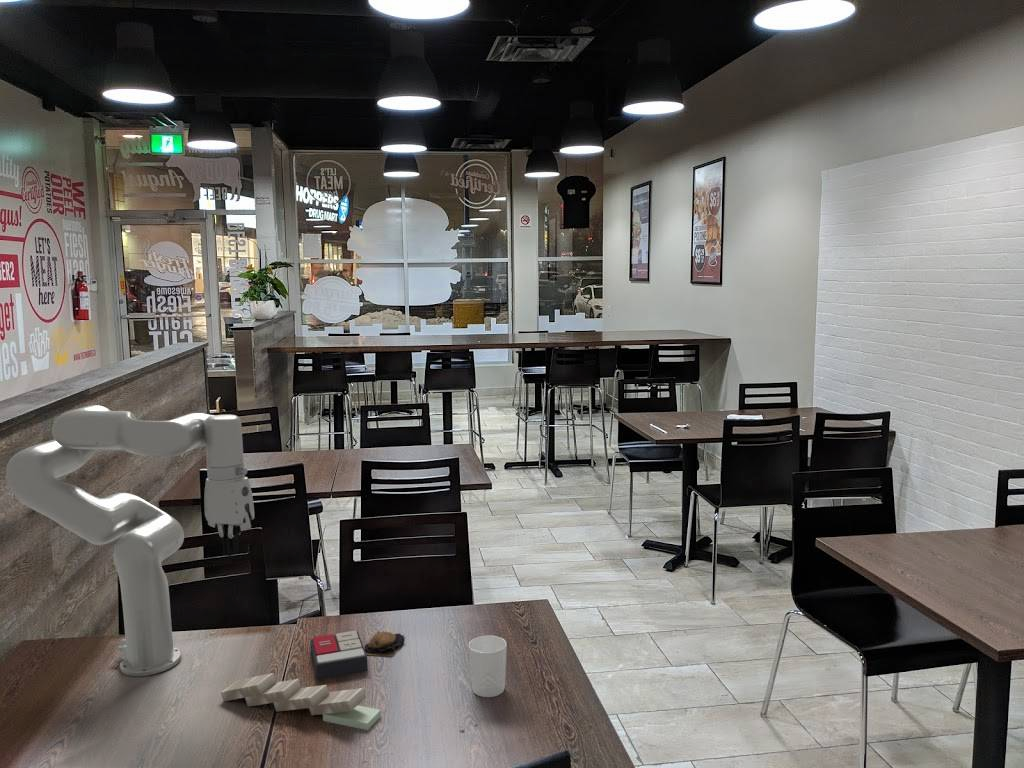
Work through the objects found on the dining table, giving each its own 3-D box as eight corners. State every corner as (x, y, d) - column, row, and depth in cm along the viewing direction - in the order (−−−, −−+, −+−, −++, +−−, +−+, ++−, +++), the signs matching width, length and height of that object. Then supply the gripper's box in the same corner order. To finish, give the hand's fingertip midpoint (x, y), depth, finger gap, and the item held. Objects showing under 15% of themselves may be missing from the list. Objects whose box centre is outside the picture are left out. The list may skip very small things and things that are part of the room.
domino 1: (220, 692, 159) (257, 684, 155) (237, 680, 164) (273, 672, 160) (223, 701, 159) (260, 694, 155) (240, 689, 164) (276, 682, 160)
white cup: (513, 684, 164) (512, 639, 163) (497, 702, 157) (496, 655, 155) (480, 676, 167) (479, 632, 166) (462, 694, 160) (461, 648, 159)
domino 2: (244, 697, 157) (283, 690, 153) (260, 685, 161) (298, 678, 158) (247, 706, 157) (286, 700, 153) (263, 694, 162) (301, 688, 158)
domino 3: (272, 702, 155) (310, 697, 150) (289, 689, 159) (326, 684, 155) (276, 711, 155) (313, 707, 150) (292, 698, 159) (329, 694, 155)
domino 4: (308, 705, 152) (348, 700, 148) (323, 692, 157) (363, 687, 153) (311, 715, 152) (351, 710, 148) (326, 702, 157) (366, 697, 153)
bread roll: (394, 660, 176) (393, 645, 176) (359, 657, 178) (358, 642, 178) (409, 638, 187) (408, 624, 186) (376, 636, 188) (375, 621, 188)
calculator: (357, 628, 184) (367, 653, 170) (358, 645, 185) (368, 672, 171) (310, 635, 181) (315, 661, 167) (311, 653, 181) (316, 681, 167)
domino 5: (322, 714, 151) (367, 723, 148) (337, 701, 156) (380, 709, 152) (323, 723, 151) (367, 733, 148) (337, 710, 156) (381, 719, 153)
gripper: (265, 470, 169) (270, 551, 172) (210, 465, 174) (215, 544, 177) (242, 478, 162) (247, 563, 165) (185, 473, 167) (191, 555, 170)
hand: (231, 553), depth 171 cm, fingers closed
